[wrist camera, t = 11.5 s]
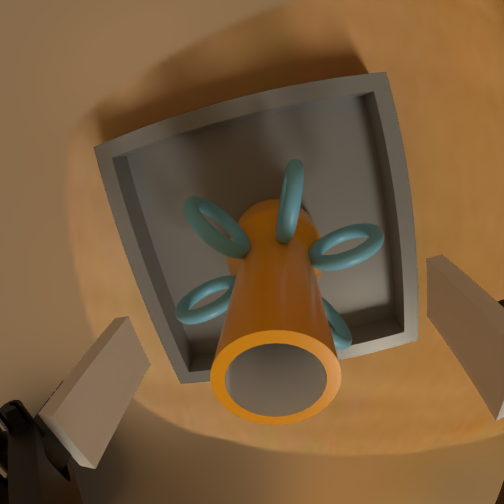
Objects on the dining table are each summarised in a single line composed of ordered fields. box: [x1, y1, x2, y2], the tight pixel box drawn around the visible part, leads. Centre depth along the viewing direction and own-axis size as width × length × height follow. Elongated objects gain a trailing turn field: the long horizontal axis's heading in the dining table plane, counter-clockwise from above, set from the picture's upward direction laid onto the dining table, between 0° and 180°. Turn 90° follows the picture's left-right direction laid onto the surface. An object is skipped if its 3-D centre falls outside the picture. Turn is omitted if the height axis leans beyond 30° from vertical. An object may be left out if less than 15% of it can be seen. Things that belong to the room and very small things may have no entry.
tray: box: [94, 72, 418, 384], centre depth 23 cm, size 20×20×3 cm
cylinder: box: [175, 159, 384, 425], centre depth 16 cm, size 12×10×15 cm
